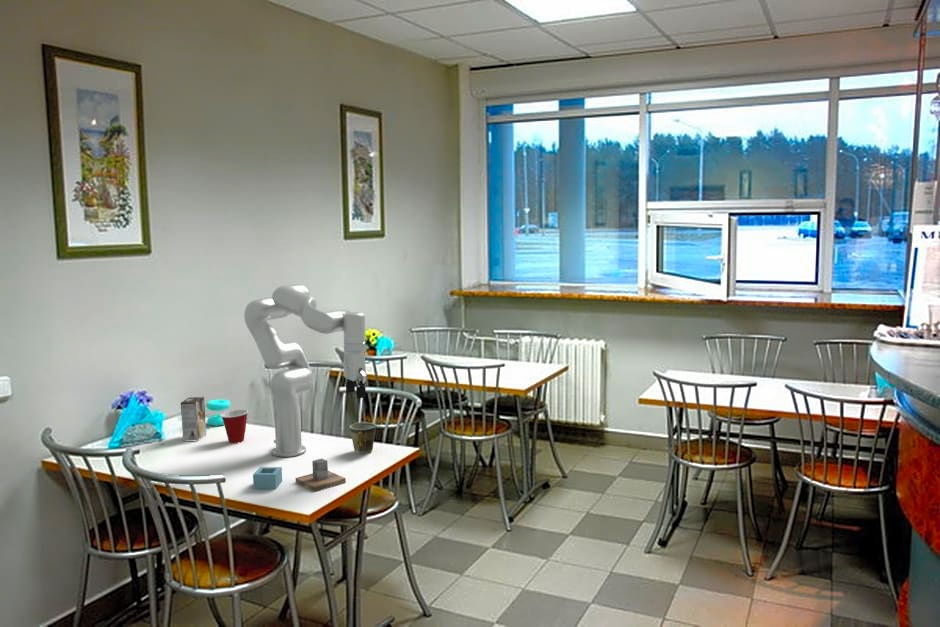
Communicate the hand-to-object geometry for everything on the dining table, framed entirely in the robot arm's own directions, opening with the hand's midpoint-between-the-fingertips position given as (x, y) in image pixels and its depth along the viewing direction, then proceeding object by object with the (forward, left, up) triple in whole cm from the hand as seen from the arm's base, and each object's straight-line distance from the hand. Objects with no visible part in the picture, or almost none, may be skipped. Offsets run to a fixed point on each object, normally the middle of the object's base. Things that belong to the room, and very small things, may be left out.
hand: (355, 395), depth 265 cm
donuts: (-90, -11, -26) cm, 94 cm away
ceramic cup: (-12, +10, -26) cm, 31 cm away
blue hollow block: (-5, -33, -26) cm, 42 cm away
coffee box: (-76, -28, -26) cm, 85 cm away
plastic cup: (-60, -18, -26) cm, 68 cm away
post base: (+5, -19, -26) cm, 32 cm away
